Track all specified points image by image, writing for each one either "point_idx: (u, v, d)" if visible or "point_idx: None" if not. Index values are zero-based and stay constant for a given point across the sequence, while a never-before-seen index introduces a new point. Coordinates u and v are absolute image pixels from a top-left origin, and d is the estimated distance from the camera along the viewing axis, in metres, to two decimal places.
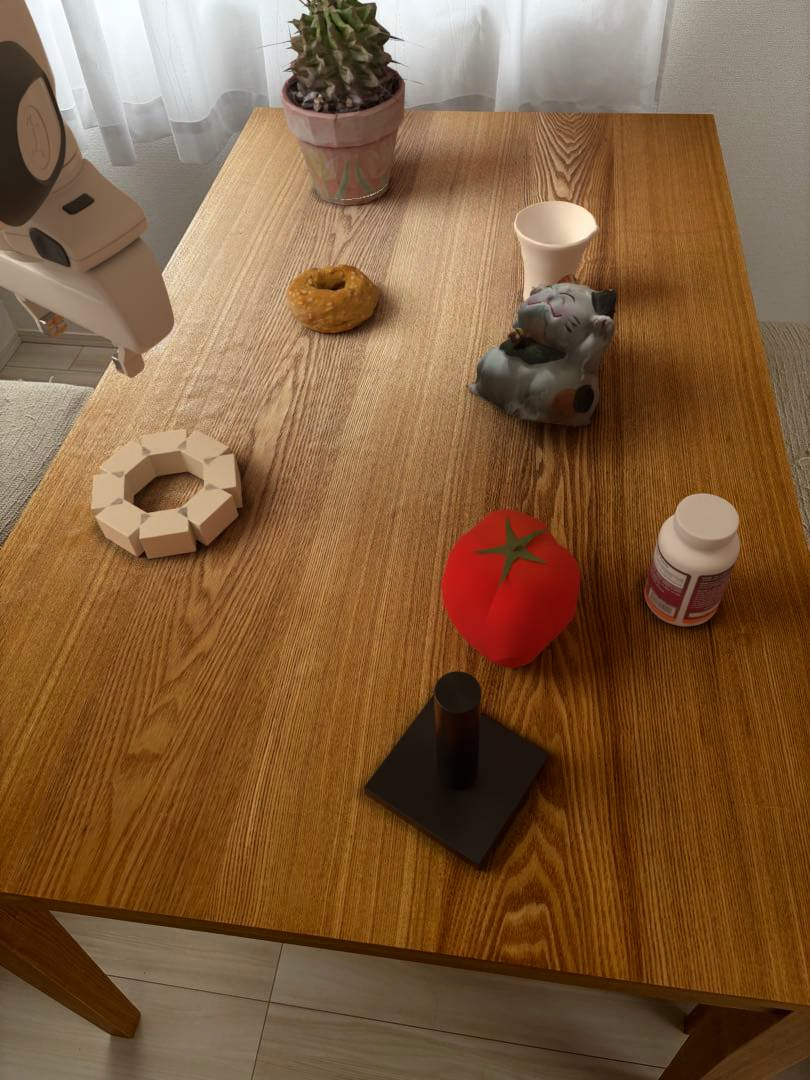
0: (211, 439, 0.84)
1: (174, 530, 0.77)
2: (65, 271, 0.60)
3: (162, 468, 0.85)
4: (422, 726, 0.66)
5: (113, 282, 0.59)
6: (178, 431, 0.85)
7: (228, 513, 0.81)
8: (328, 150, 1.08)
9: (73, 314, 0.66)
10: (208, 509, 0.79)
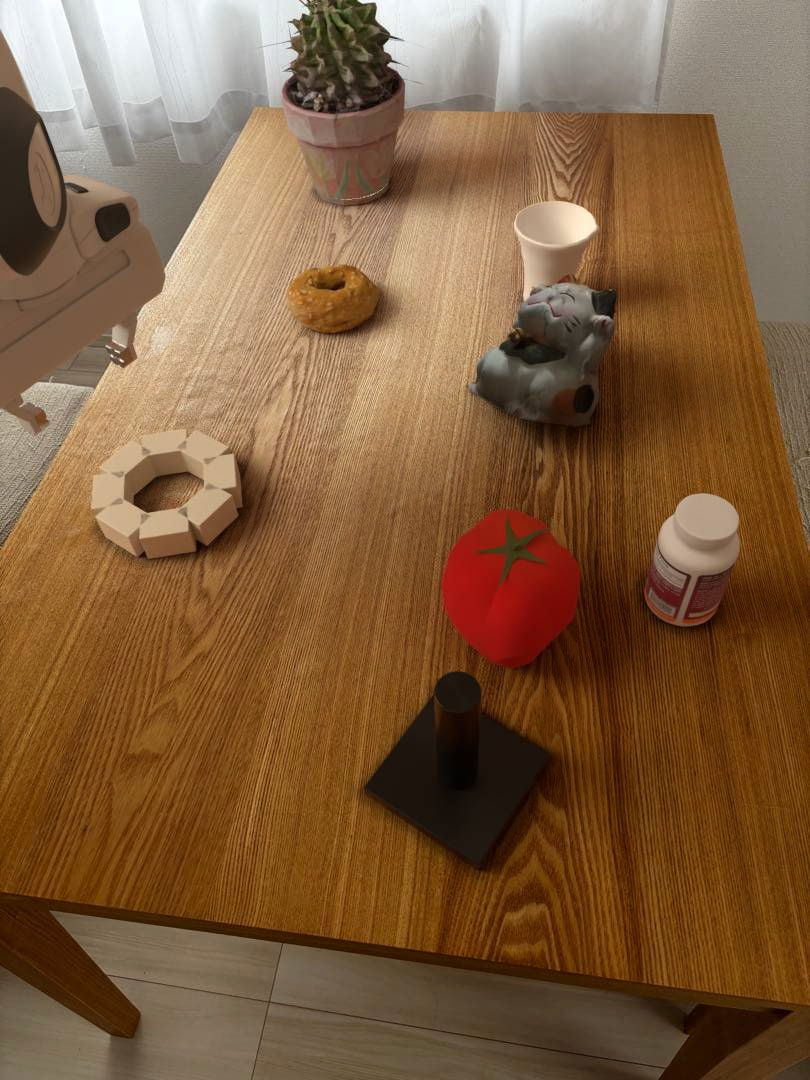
0: (211, 439, 0.84)
1: (174, 530, 0.77)
2: (115, 246, 0.64)
3: (162, 468, 0.85)
4: (422, 726, 0.66)
5: None
6: (178, 431, 0.85)
7: (228, 513, 0.81)
8: (328, 150, 1.08)
9: (99, 323, 0.67)
10: (208, 509, 0.79)
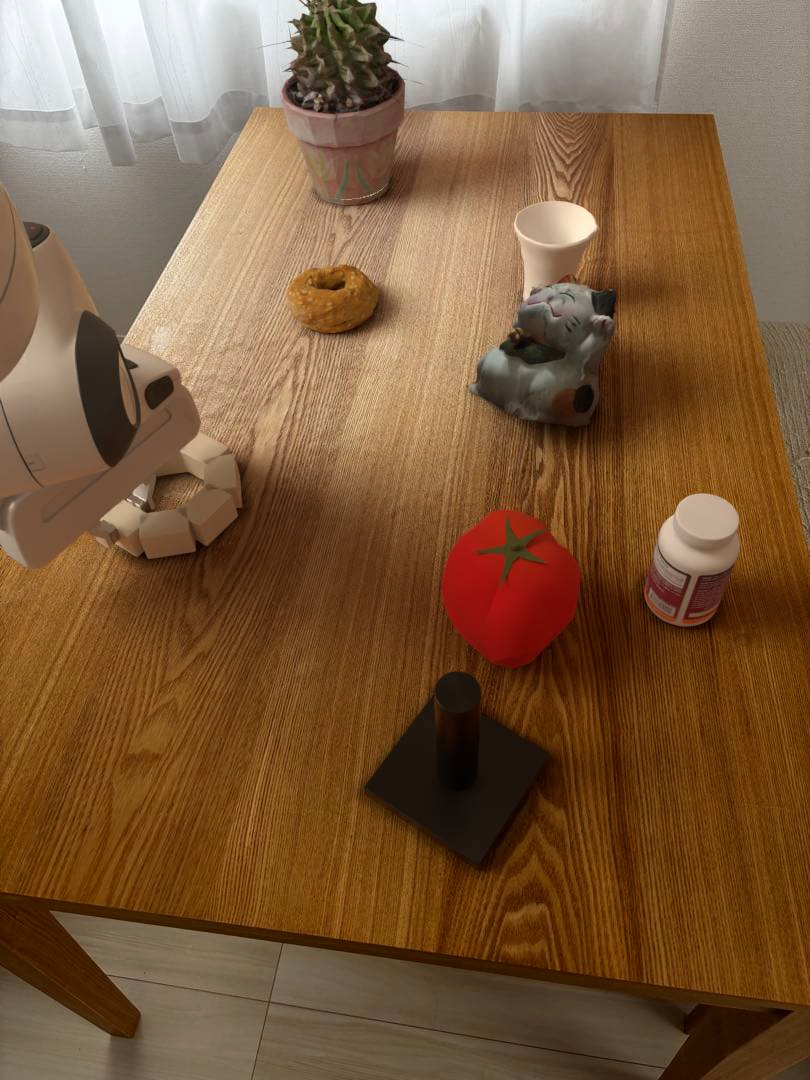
0: (211, 439, 0.84)
1: (174, 530, 0.77)
2: (160, 409, 0.73)
3: (162, 469, 0.85)
4: (422, 726, 0.66)
5: None
6: None
7: (228, 513, 0.81)
8: (328, 150, 1.08)
9: (144, 470, 0.76)
10: (207, 509, 0.79)
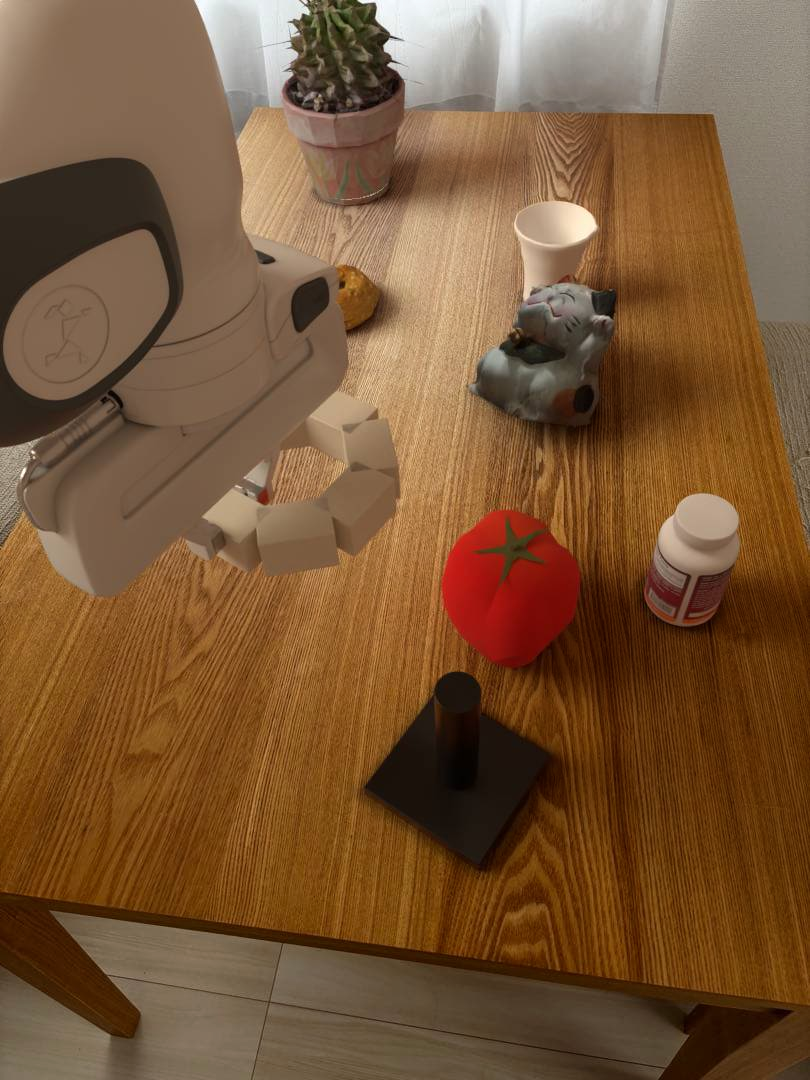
0: (349, 397, 0.57)
1: (312, 532, 0.49)
2: (305, 335, 0.45)
3: None
4: (422, 726, 0.66)
5: None
6: None
7: (386, 507, 0.53)
8: (328, 150, 1.08)
9: (270, 438, 0.48)
10: (360, 500, 0.51)
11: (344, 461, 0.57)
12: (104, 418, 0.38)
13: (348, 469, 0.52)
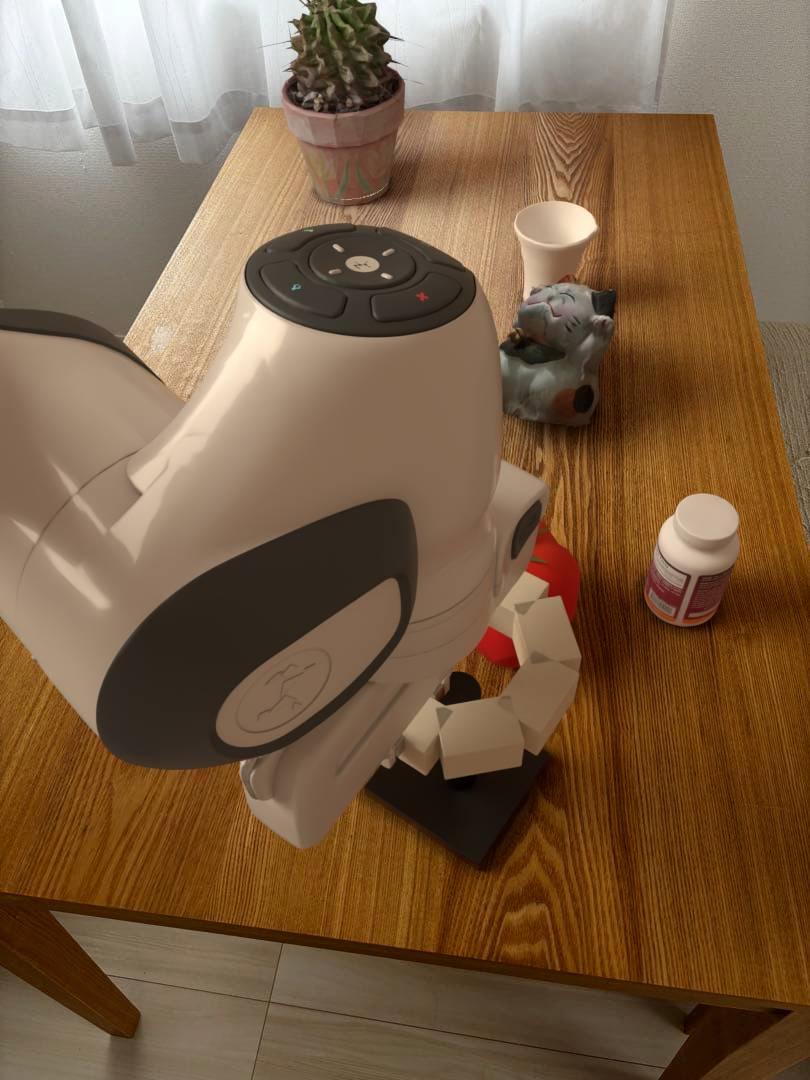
0: None
1: (500, 740, 0.46)
2: None
3: None
4: None
5: None
6: None
7: (568, 700, 0.49)
8: (328, 150, 1.08)
9: None
10: (546, 700, 0.48)
11: (511, 636, 0.54)
12: None
13: (528, 660, 0.49)
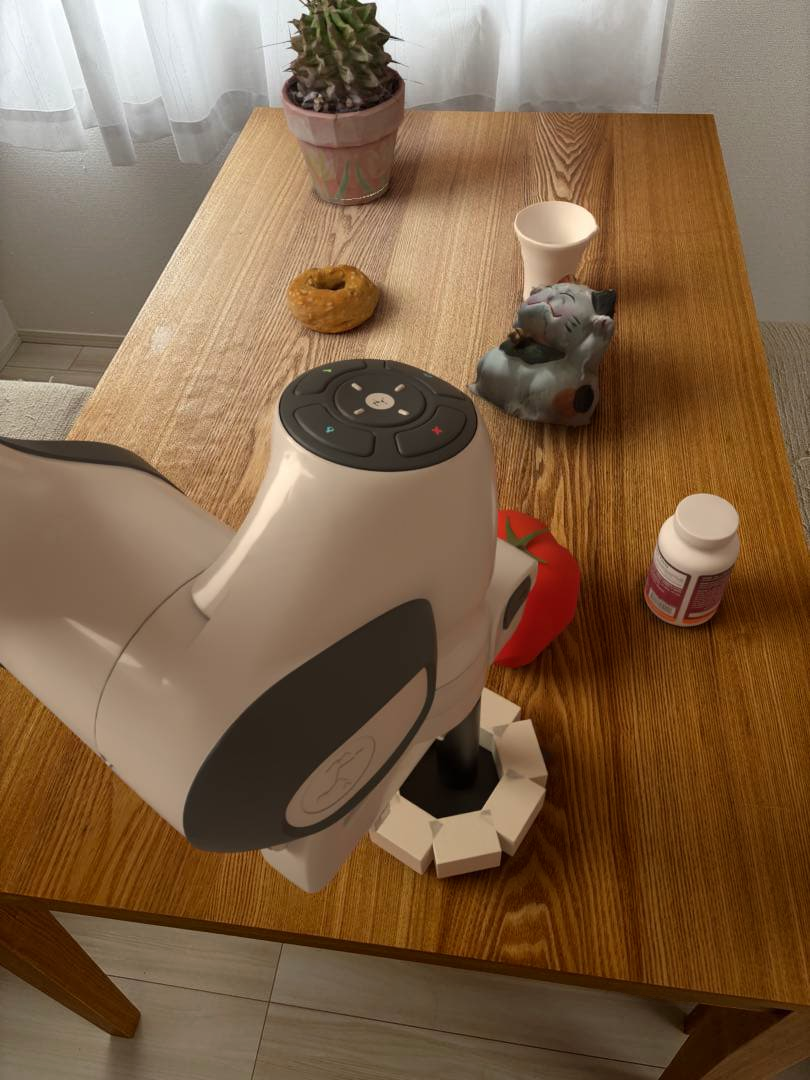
0: (494, 695, 0.64)
1: (482, 849, 0.57)
2: None
3: None
4: None
5: None
6: None
7: (537, 810, 0.61)
8: (328, 150, 1.08)
9: None
10: (519, 813, 0.59)
11: (490, 750, 0.65)
12: None
13: (504, 778, 0.60)
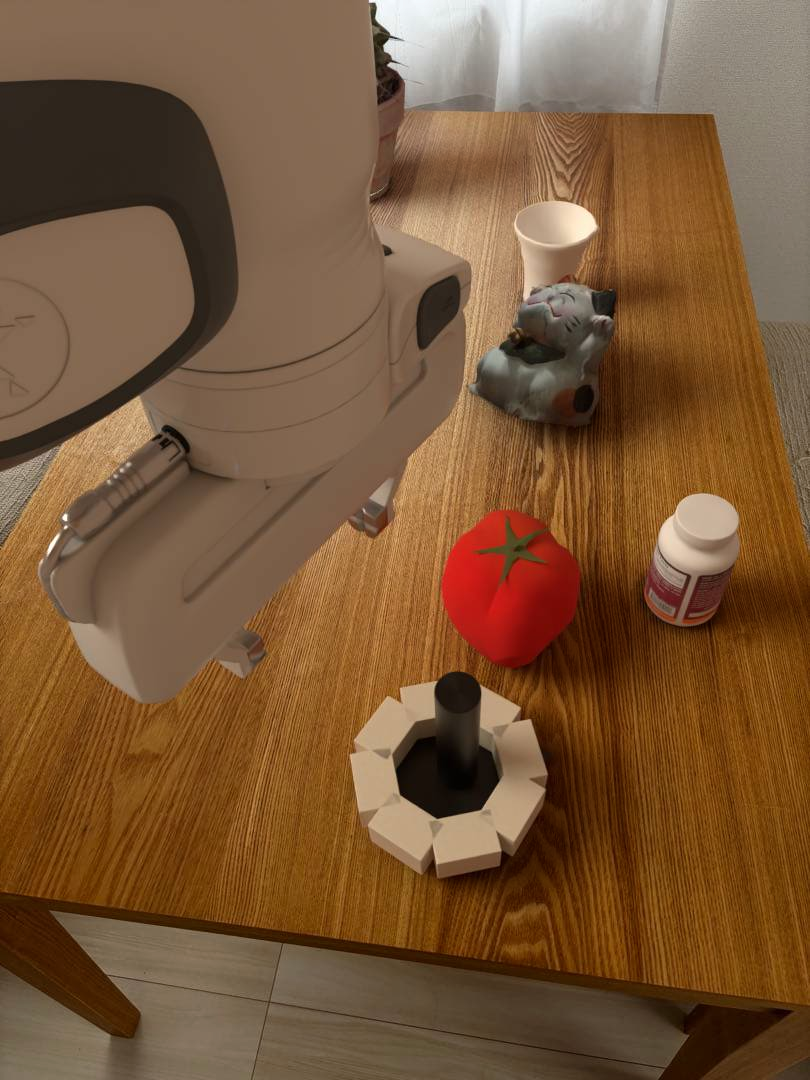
0: (494, 695, 0.64)
1: (482, 849, 0.57)
2: (425, 352, 0.34)
3: (428, 732, 0.65)
4: None
5: None
6: None
7: (537, 810, 0.61)
8: None
9: (368, 483, 0.37)
10: (519, 813, 0.59)
11: (490, 750, 0.65)
12: (164, 469, 0.27)
13: (504, 778, 0.60)
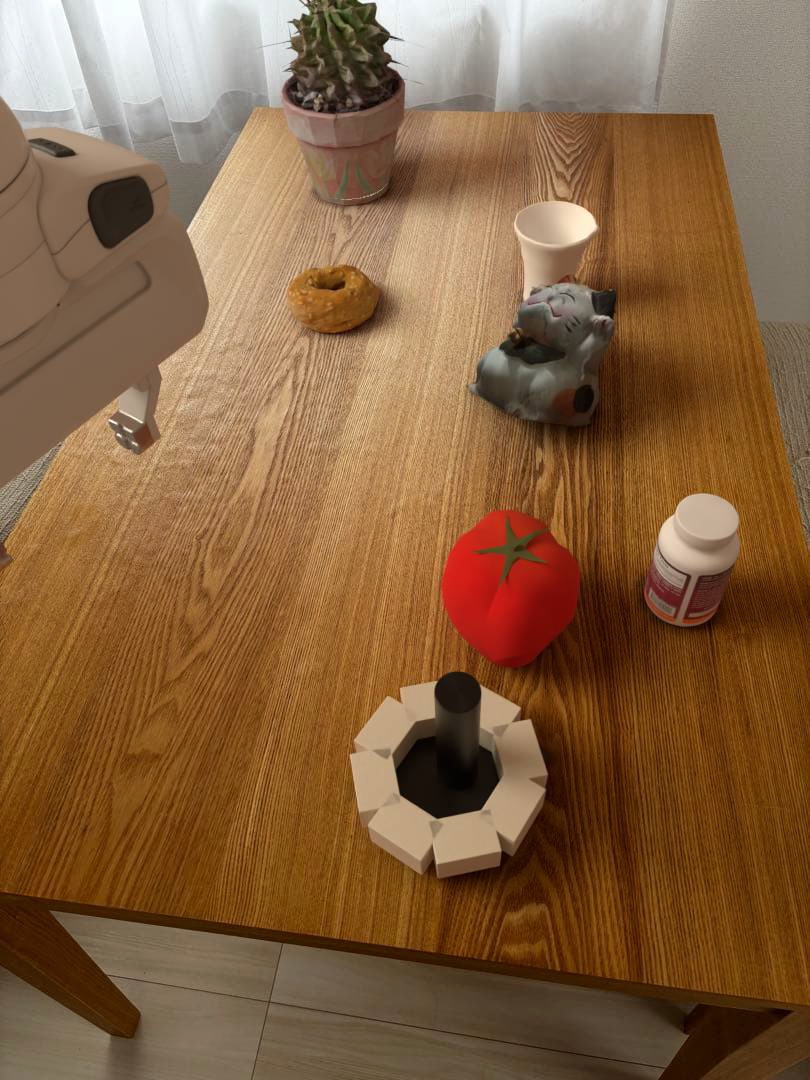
0: (494, 695, 0.64)
1: (482, 849, 0.57)
2: (126, 255, 0.35)
3: (428, 732, 0.65)
4: None
5: None
6: None
7: (537, 810, 0.61)
8: (328, 150, 1.08)
9: (98, 390, 0.38)
10: (519, 813, 0.59)
11: (490, 750, 0.65)
12: None
13: (504, 778, 0.60)
